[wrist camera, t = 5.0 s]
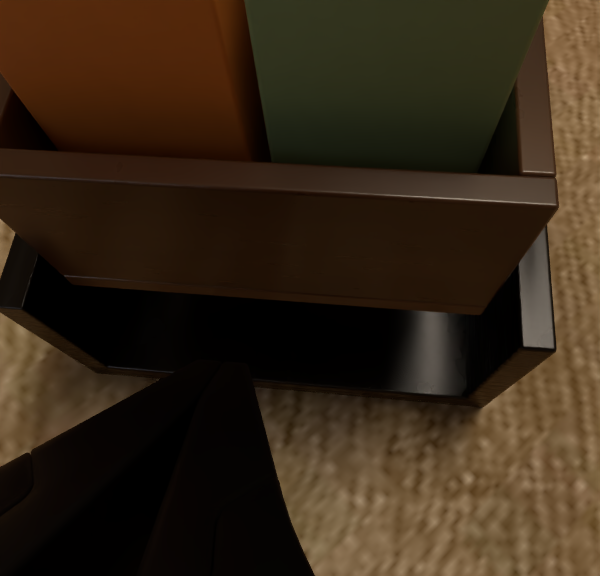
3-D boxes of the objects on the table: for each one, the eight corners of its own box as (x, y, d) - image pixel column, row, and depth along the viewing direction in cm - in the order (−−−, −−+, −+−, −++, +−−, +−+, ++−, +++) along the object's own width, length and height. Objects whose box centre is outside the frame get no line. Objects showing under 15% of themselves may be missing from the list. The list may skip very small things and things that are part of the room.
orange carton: (267, 234, 14) (179, -152, 6) (111, 224, 14) (-171, -155, 6) (284, 105, 15) (234, -341, 7) (143, 99, 16) (-51, -333, 8)
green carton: (447, 246, 13) (615, -152, 5) (282, 235, 14) (215, -153, 6) (447, 112, 15) (579, -350, 7) (299, 106, 15) (263, -342, 7)
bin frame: (484, 407, 18) (558, 351, 12) (95, 373, 19) (-10, 306, 13) (478, 206, 21) (537, 82, 15) (141, 186, 22) (71, 64, 16)
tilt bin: (481, 316, 13) (561, 208, 9) (72, 286, 14) (-53, 172, 10) (475, 86, 16) (534, -91, 11) (131, 72, 17) (55, -97, 12)
